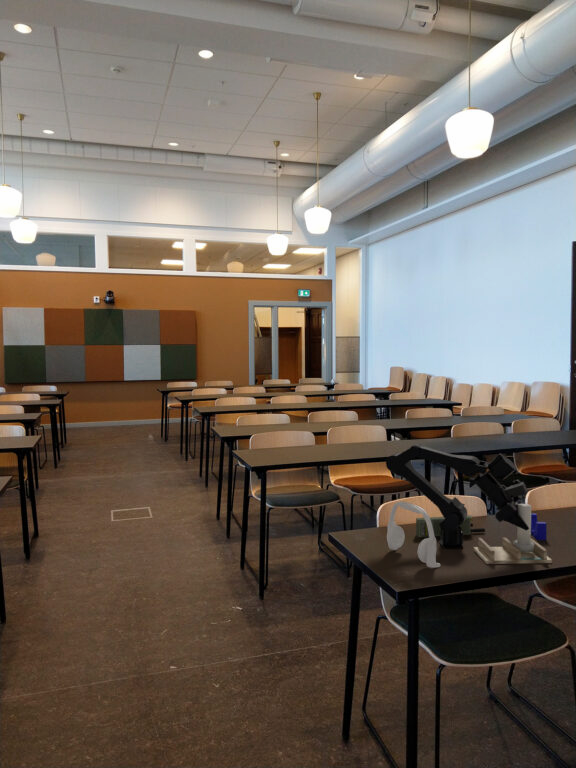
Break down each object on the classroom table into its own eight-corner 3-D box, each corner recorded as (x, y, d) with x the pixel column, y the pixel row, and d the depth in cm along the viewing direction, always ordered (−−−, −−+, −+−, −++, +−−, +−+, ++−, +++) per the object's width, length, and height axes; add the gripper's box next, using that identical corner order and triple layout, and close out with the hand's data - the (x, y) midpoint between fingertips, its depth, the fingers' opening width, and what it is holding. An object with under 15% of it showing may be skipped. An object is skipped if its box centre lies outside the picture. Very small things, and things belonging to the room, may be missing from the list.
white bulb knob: (512, 550, 176) (512, 506, 176) (514, 544, 182) (515, 502, 181) (533, 553, 174) (533, 509, 173) (534, 547, 179) (535, 504, 178)
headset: (382, 551, 184) (382, 498, 183) (399, 547, 187) (399, 495, 186) (424, 572, 166) (424, 513, 165) (442, 567, 170) (442, 509, 169)
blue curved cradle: (522, 529, 205) (522, 513, 204) (535, 529, 204) (535, 513, 204) (532, 540, 193) (532, 523, 193) (546, 540, 192) (546, 523, 192)
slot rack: (486, 563, 172) (486, 551, 172) (473, 550, 184) (473, 538, 184) (551, 562, 172) (551, 550, 171) (534, 549, 184) (534, 537, 183)
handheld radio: (415, 535, 200) (482, 531, 203) (418, 538, 197) (486, 535, 199) (415, 517, 200) (482, 513, 202) (418, 520, 196) (486, 516, 199)
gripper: (507, 479, 170) (546, 520, 165) (515, 467, 186) (551, 504, 182) (479, 501, 174) (517, 542, 170) (490, 488, 191) (524, 525, 186)
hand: (528, 527), depth 177 cm, fingers closed on white bulb knob, 4 cm apart
